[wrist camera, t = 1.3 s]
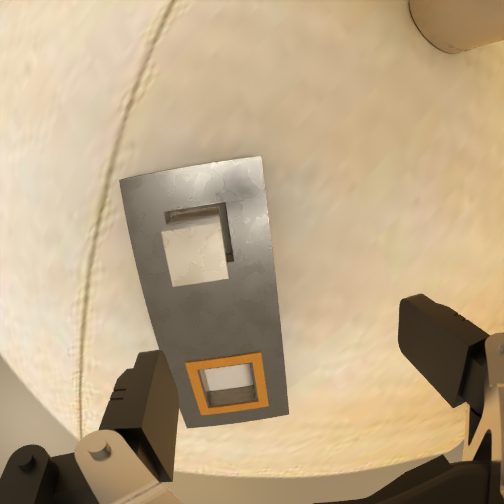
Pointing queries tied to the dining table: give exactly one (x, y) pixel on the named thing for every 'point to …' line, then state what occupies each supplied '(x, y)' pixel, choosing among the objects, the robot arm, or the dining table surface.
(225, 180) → the grey board with holes
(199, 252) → the grey square peg
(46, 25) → the dining table surface
